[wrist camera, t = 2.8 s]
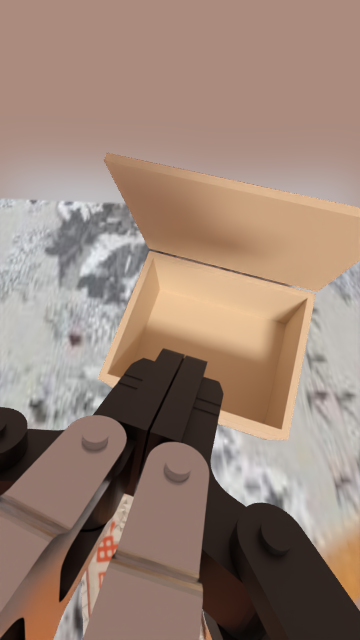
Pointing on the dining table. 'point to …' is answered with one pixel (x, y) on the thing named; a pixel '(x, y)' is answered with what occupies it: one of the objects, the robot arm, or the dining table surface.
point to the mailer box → (220, 337)
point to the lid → (239, 223)
